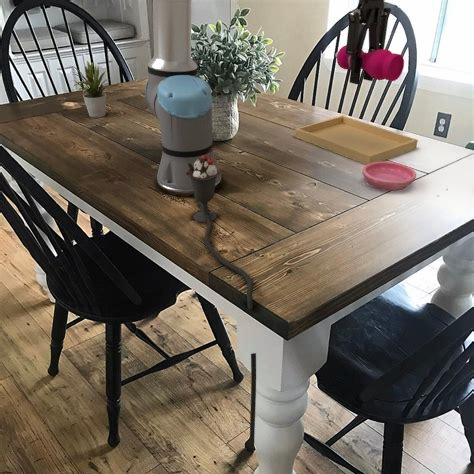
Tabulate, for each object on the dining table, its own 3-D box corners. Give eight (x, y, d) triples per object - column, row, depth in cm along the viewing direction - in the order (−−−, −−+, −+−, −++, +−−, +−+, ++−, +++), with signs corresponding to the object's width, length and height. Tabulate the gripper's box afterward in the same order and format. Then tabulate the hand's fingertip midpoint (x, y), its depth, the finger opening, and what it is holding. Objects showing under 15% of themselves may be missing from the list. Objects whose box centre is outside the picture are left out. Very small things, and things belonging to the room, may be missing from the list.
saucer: (401, 171, 137) (403, 159, 135) (423, 192, 127) (426, 179, 125) (353, 174, 135) (355, 162, 133) (372, 196, 125) (374, 183, 123)
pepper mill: (398, 86, 139) (339, 71, 151) (409, 56, 136) (348, 43, 149) (382, 80, 134) (323, 65, 147) (393, 49, 131) (332, 37, 144)
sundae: (227, 216, 117) (226, 148, 108) (204, 227, 113) (201, 157, 104) (205, 207, 121) (203, 140, 112) (183, 217, 117) (178, 149, 108)
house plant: (68, 110, 179) (59, 57, 169) (110, 105, 184) (103, 53, 174) (77, 123, 168) (68, 67, 159) (121, 117, 173) (115, 62, 164)
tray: (416, 148, 150) (418, 139, 149) (369, 165, 140) (370, 156, 139) (341, 123, 168) (342, 115, 166) (294, 137, 158) (295, 128, 156)
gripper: (361, -16, 124) (349, 90, 138) (409, -21, 133) (394, 79, 147) (336, -19, 129) (327, 84, 142) (385, -23, 138) (372, 73, 151)
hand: (361, 81), depth 144 cm, fingers closed on pepper mill, 5 cm apart
